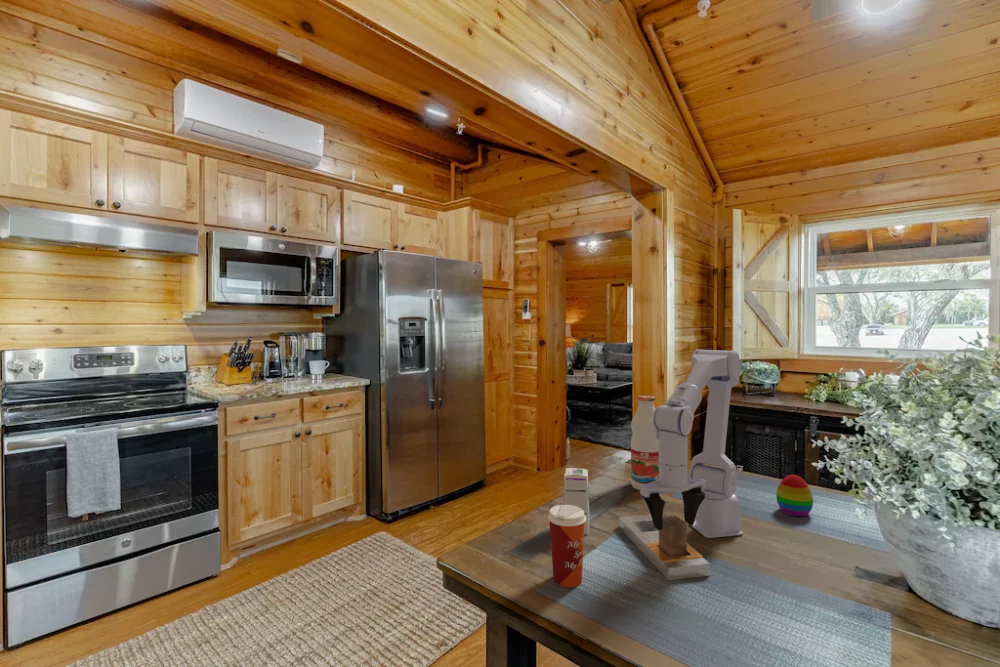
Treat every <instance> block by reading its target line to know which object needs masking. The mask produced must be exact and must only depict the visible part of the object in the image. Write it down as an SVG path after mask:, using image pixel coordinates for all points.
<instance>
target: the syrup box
mask: <svg viewBox="0 0 1000 667" xmlns="http://www.w3.org/2000/svg"><path fill="white" fill-rule="evenodd" d="M563 481H564V482H563V484H564V485H563V486H564V488H563V490H564V491H563V492H564V505H573V506H577V507H579V508H581V509H582V510H583V511H584V515H585V516H586V521H585V527H584V535H587V536H588V535H589V534H590V497H589V496H590V494H589V489H590V488H589V470H588V468H582V467H569V468H568V467H566V468H565V471H564V473H563Z"/></svg>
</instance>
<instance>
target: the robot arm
mask: <svg viewBox="0 0 1000 667" xmlns="http://www.w3.org/2000/svg"><path fill="white" fill-rule="evenodd" d="M741 365H742V364H741V358H740V355H739V353H738V351H736V350H733V349H732V350H719V349H718V350H717V349H715V350H714V349H710V350H709V349H701V348H697V349H695V350H694V351H693V353H692V354H691V358H690V366H691V370H690V373H689V375H688V377H687V379H686V381H685V382H683V383H680V384H678V385H677V387H676V388H675V389H674V391H673V393H672V394H671V395H670V397H668V399H667V401H666V402H665V404H662V405H660V406H657V407H656V408H655V409H656V410H655V412H654V417H653V426H654V429H655V431H656V439H657V440H659V480H657V481H654V482H651V483H648V484H644V485H640V490H639V493H640V495H641V496H642V498H643V500H644V501H645V503H646V506H647V509H648V510H649V513H650V514H651V517H652V521H653V525H654V527H655V528H657V529H658V530H662V526H663V517H664V516H663V515H664V509H665V504H666V501H665V500H664V499H662V496H660V495H663V494H672V493H681V495H682V496H681V497H682V502H683V517H684V522H686V523H687V525H690V527H692V528H693V529H694V530H696V531H697V532H698V533H700V534H701V535H702V536H703V537H705V538H707V539H712V538H714V539H715V538H720V537H721V538H724V537H734V536H743V534H744V532H743V531H742V530H741V529H742V528H741V525H742V522H741V517H742V514H741V511H742V509H741V503H740V501H739V499H738V498H739V497H737V495H736V494H735V493H736V490H737V486H738V477H737V466H736V465H735V463H734V462H733V461H732V460H731V459H729V458H728V456H727V455H726V454H725V453H726V444H727V433H728V425H729V424H728V423H729V414H730V412H729V411H730V402H731V395H732V388H734V387H736V386H738V385H739V381H740V377H741V376H740V374H741ZM706 386H707V388H708V396H707V397H708V398H707V407H706V419H705V428H704V438H703V445H702V446H703V447H702V451H701V452H700V453H699V454H697V455H695V456H693V457H692V458H691V462H690V463H691V464H690V468H689V469H688V466H689V465H688V435H689V434H690V433H691V431H692V428H693V422H694V419H695V412H696V410H697V409H698V406H699V405H700V404H701V402H702V400H703V394H702V391H703V390H704V388H705V387H706ZM705 464H706V465H705ZM710 465H711V466H710ZM714 466H717V467H714Z"/></svg>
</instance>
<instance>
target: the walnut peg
mask: <svg viewBox="0 0 1000 667" xmlns="http://www.w3.org/2000/svg"><path fill="white" fill-rule="evenodd" d="M687 525H688V523H687V522H685V520H683V519H681V518H680V517H678V516H676V515H669V516H663V526H662V530H659V549H660V550H661V551H662V552H663V553H665V554H666V555H667V556H668V557H677V556H687V543H688V539H687V538H688V537H687V536H688V535H687V534H688V529H687V527H688V526H687Z"/></svg>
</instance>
